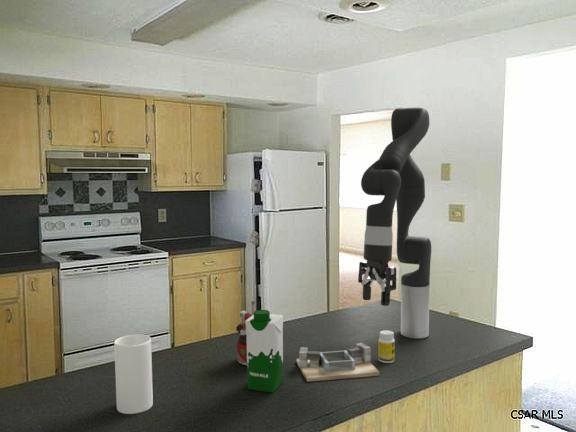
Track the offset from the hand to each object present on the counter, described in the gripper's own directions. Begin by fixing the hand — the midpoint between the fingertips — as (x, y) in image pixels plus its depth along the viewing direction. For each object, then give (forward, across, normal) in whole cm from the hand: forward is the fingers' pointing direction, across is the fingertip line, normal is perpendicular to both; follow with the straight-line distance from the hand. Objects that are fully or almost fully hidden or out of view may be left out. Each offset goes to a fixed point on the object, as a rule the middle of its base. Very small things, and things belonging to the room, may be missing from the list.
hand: (375, 302), depth 137 cm
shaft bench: (+20, +8, +7) cm, 22 cm away
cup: (+24, +9, +61) cm, 66 cm away
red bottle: (+21, +23, +26) cm, 40 cm away
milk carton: (+22, +6, +29) cm, 37 cm away
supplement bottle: (+19, +6, -9) cm, 22 cm away
